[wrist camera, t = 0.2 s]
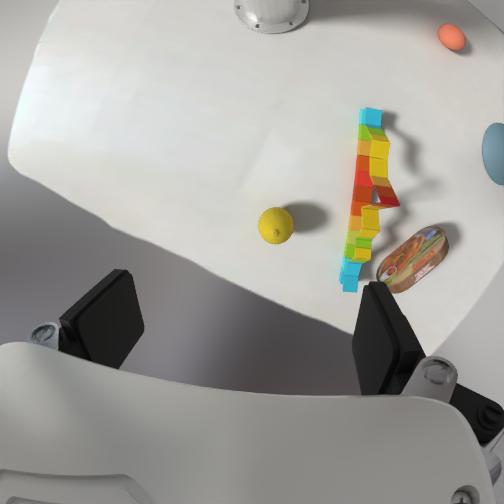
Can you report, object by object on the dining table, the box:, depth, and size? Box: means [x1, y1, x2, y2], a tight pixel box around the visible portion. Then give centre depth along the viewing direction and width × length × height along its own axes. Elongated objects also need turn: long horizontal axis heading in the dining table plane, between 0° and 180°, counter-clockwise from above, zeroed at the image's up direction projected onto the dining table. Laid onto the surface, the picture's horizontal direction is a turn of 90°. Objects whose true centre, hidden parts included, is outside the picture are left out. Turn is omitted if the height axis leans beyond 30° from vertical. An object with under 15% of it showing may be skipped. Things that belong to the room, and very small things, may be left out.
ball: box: [438, 24, 466, 50], centre depth 26 cm, size 6×6×6 cm
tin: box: [376, 226, 449, 294], centre depth 42 cm, size 15×3×8 cm, turn 133°
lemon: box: [258, 207, 294, 244], centre depth 43 cm, size 6×6×8 cm
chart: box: [339, 107, 400, 293], centre depth 37 cm, size 30×3×15 cm, turn 177°
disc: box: [482, 123, 504, 185], centre depth 35 cm, size 13×13×1 cm
